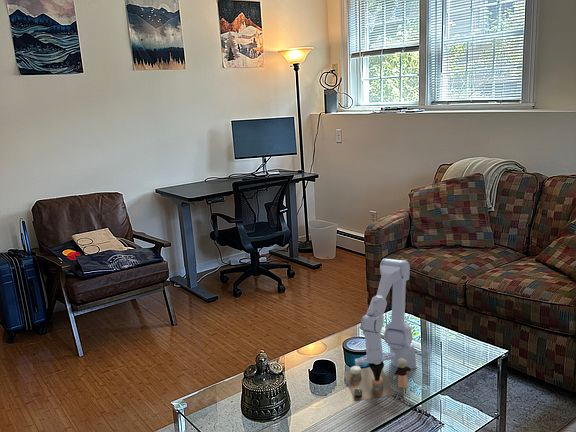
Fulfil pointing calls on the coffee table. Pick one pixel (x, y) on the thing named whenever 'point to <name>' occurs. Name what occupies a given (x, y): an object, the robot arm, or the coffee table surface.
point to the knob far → (355, 370)
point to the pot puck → (358, 392)
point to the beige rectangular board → (368, 384)
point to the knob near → (377, 381)
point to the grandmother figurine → (402, 373)
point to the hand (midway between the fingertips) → (377, 379)
